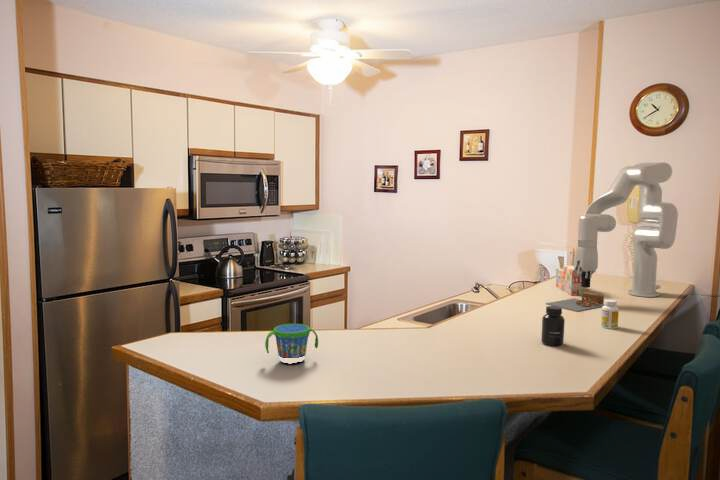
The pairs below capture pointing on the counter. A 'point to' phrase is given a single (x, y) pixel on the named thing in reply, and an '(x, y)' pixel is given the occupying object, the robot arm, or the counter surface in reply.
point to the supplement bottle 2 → (610, 315)
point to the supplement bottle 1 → (553, 326)
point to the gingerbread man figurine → (590, 299)
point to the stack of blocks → (569, 281)
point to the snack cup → (291, 340)
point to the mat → (573, 305)
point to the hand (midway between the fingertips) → (585, 286)
